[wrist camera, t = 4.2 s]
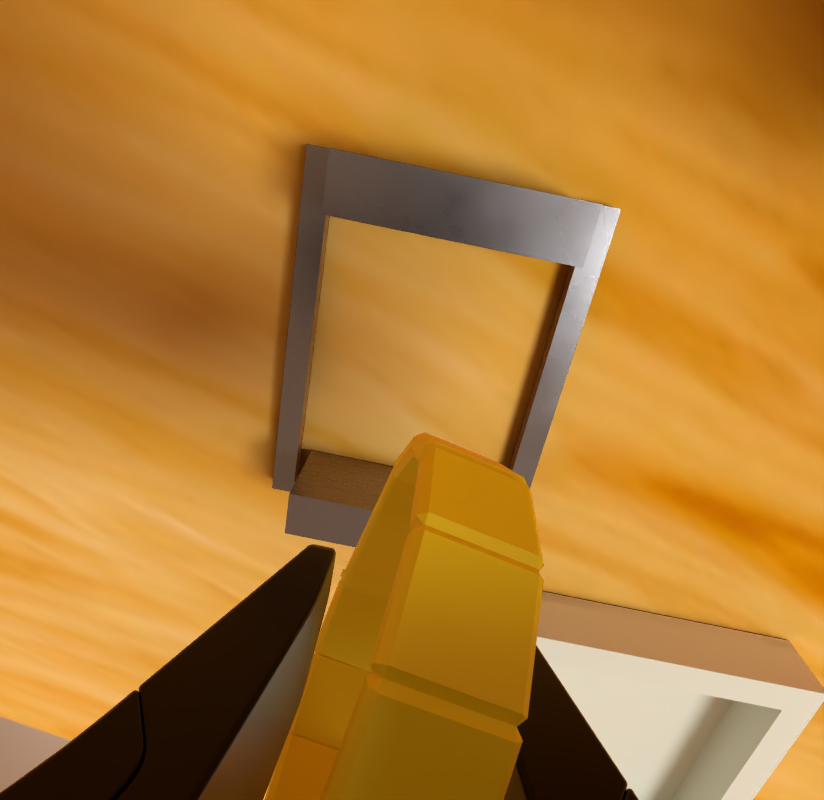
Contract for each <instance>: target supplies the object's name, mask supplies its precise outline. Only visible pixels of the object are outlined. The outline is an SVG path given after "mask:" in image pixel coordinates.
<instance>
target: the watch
mask: <svg viewBox="0 0 824 800" xmlns="http://www.w3.org/2000/svg"><path fill="white" fill-rule="evenodd" d="M543 566H544V565H543V559H542V554H541V548H540V542H539V536H538V530H537V524H536V518H535V513H534V507H533V501H532V495H531V491H530V489H529V486H528V485H527V483H526V481H525V478H524V477H522V476H520V475H519V474H517V473H515V472H514V471H512V470H510V469H509V468H507V467H505V466H504V465H502V464H500V463H498V462H495V461H493V460H491V459H488V458H486V457H483V456H481V455H478V454H476V453H473V452H471V451H469V450H466V449H464V448H461V447H459V446H456V445H454V444H452V443H449V442H447V441H444V440H442V439H439V438H437V437H434V436H432V435H430V434H427V433H425V432H424V433H421V434H419V435H417V436H416V437H414V438H413V439H412V440H411V442H410V443H409V444H408V446H407V447H406V448H405V449H404V451H403V452H402V453H401V455H400V456H399V457H398V459H397V460H396V461H395V464H394V467H393V469H392V471H391V473H390V475H389V478H388V480H387V482H386V484H385V486H384V488H383V490H382V492H381V495H380V497H379V499H378V501H377V503H376V505H375V507H374V510H373V512H372V514H371V516H370V518H369V520H368V522H367V524H366V527H365V529H364V531H363V533H362V535H361V537H360V539H359V542H358V544H357V546H356V548H355V550H354V552H353V554H352V556H351V559H350V561H349V563H348V565H347V567H346V569H345V570H344V569H343V571H342V574H341V577H342V578H341V580H340V581H339V583H338V586H337V588H336V591H335V594H334V596H333V599H332V601H331V604H330V607H329V609H328V612H327V614H326V617H325V620H324V622H323V625H322V628H321V630H320V633H319V636H318V639H317V643H316V647H315V653H314V655H313V659H312V662H311V666H310V670H309V674H308V678H307V682H306V685H305V688H304V692H303V695H302V698H301V701H300V704H299V707H298V710H297V712H296V715H295V718H294V720H293V723H292V725H291V728H290V731H289V733H288V736H287V738H286V741H285V744H284V746H283V749H282V751H281V754H280V756H279V759H278V762H277V764H276V767H275V769H274V772H273V775H272V777H271V780H270V783H269V787H268V790H267V794H266V797H265V800H504V797H505V794H506V791H507V788H508V785H509V782H510V779H511V776H512V772H513V769H514V766H515V763H516V760H517V757H518V754H519V751H520V748H521V745H522V742H523V740H522V738H521V735H520V733H519V731H518V728H517V726H518V725H520V724H521V723H522V722H524V721H525V720H526V719H527V718H528V711H529V702H530V693H531V685H532V676H533V668H534V659H535V650H536V642H537V633H538V625H539V616H540V608H541V599H542V590H543V582H544V580H543V579H542V577H541V575H540V574H539V571H540V570H541V568H542V567H543Z"/></svg>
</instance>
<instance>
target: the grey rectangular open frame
mask: <svg viewBox="0 0 824 800" xmlns="http://www.w3.org/2000/svg"><path fill="white" fill-rule="evenodd" d="M620 211H621V209H618V208H613V207H608V206H603V204H598V203H593V202H588V201H584V200H579V199H574V198H569V197H564V196H560V195H555V194H550V193H545V192H540V191H535V190H531V189H526V188H521V187H516V186H511V185H507V184H502V183H497V182H492V181H487V180H482V179H478V178H473V177H468V176H463V175H458V174H454V173H449V172H444V171H439V170H434V169H429V168H425V167H420V166H415V165H410V164H405V163H400V162H396V161H391V160H386V159H381V158H376V157H372V156H367V155H362V154H357V153H352V152H347V151H343V150H338V149H333V148H330V149H329V148H324V147H319V146H314V145H309V144H307V146H306V156H305V166H304V176H303V186H302V196H301V206H300V216H299V226H298V236H297V246H296V256H295V266H294V276H293V286H292V295H291V305H290V315H289V325H288V335H287V345H286V355H285V365H284V375H283V385H282V395H281V405H280V415H279V425H278V435H277V445H276V455H275V465H274V475H273V485H272V488H275V489H280V490H285V491H290V494H289V502H288V511H287V519H286V528H285V533H287V534H292V535H297V536H302V537H307V538H312V539H317V540H322V541H327V542H332V543H337V544H342V545H347V546H352V547H356V546H357V544H358V542H359V539H360V537H361V535H362V533H363V531H364V529H365V527H366V524H367V522H368V520H369V518H370V516H371V514H372V512H373V510H374V507H375V505H376V503H377V501H378V499H379V497H380V495H381V492H382V490H383V488H384V486H385V484H386V482H387V480H388V478H389V475H390V473H391V471H392V469H393V467H391V466H386V465H381V464H376V463H371V462H367V461H362V460H357V459H352V458H347V457H342V456H337V455H332V454H327V453H322V452H317V451H311V453H310V455H309V457H308V459H307V461H306V463H305V465H304V467H303V468H302V470H301V472H300V474H299V476H298V472H299V464H300V456H301V448H302V440H303V431H304V423H305V415H306V407H307V398H308V390H309V382H310V374H311V366H312V357H313V349H314V341H315V333H316V324H317V316H318V308H319V300H320V292H321V283H322V275H323V267H324V259H325V251H326V242H327V234H328V226H329V218H330V216H333V217H338V218H343V219H348V220H352V221H357V222H362V223H367V224H372V225H377V226H382V227H386V228H391V229H396V230H401V231H406V232H411V233H415V234H420V235H425V236H430V237H435V238H440V239H445V240H449V241H454V242H459V243H464V244H469V245H474V246H479V247H483V248H488V249H493V250H498V251H503V252H508V253H512V254H517V255H522V256H527V257H532V258H537V259H542V260H546V261H551V262H556V263H561V264H566V265H571V266H570V269H569V272H568V276H567V279H566V282H565V285H564V289H563V292H562V295H561V299H560V302H559V305H558V309H557V312H556V315H555V318H554V322H553V325H552V328H551V332H550V335H549V338H548V341H547V345H546V348H545V351H544V355H543V358H542V361H541V364H540V368H539V371H538V374H537V378H536V381H535V384H534V388H533V391H532V394H531V397H530V401H529V404H528V407H527V411H526V414H525V417H524V420H523V424H522V427H521V430H520V434H519V437H518V440H517V444H516V447H515V450H514V453H513V457H512V460H511V463H510V467H509V469H510V470H512V471H514V472H515V473H517V474H519V475H520V476H522V477H524V478H525V481H526V483H527V485H528V486H529V489H530V486H531V483H532V480H533V477H534V474H535V471H536V468H537V465H538V462H539V459H540V455H541V452H542V449H543V446H544V443H545V440H546V437H547V434H548V431H549V428H550V425H551V422H552V419H553V416H554V413H555V410H556V407H557V404H558V400H559V397H560V394H561V391H562V388H563V385H564V382H565V379H566V376H567V373H568V370H569V367H570V364H571V361H572V358H573V355H574V352H575V349H576V345H577V342H578V339H579V336H580V333H581V330H582V327H583V324H584V321H585V318H586V315H587V312H588V309H589V306H590V303H591V300H592V297H593V294H594V291H595V287H596V284H597V281H598V278H599V275H600V272H601V269H602V266H603V263H604V260H605V257H606V254H607V251H608V248H609V245H610V242H611V239H612V236H613V232H614V229H615V226H616V223H617V220H618V217H619V214H620Z"/></svg>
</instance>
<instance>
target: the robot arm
mask: <svg viewBox="0 0 824 800" xmlns="http://www.w3.org/2000/svg"><path fill="white" fill-rule="evenodd" d="M335 555H336V552H335V550H334V549H333V548H329V547H324V546H319V545H315V544H312V545H309V546H308V547H306V548H305V549H304V550H303V551H302V552H300V553H299V554H298V555H297V556H296V557H294V558H293V559H292V560H291V561H290V562H288V563H287V564H286V565H285V566H284V567H282V568H281V569H280V570H279V571H278V572H276V573H275V574H274V575H273V576H272V577H270V578H269V579H268V580H267V581H266V582H264V583H263V584H262V585H261V586H259V587H258V588H257V589H256V590H255V591H253V592H252V593H251V594H250V595H249V596H247V597H246V598H245V599H244V600H243V601H241V602H240V603H239V604H238V605H237V606H235V607H234V608H233V609H232V610H231V611H229V612H228V613H227V614H226V615H225V616H223V617H222V618H221V619H220V620H219V621H217V622H216V623H215V624H214V625H213V626H211V627H210V628H209V629H208V630H207V631H205V632H204V633H203V634H202V635H201V636H199V637H198V638H197V639H196V640H194V641H193V642H192V643H191V644H190V645H188V646H187V647H186V648H185V649H184V650H182V651H181V652H180V653H179V654H178V655H176V656H175V657H174V658H173V659H172V660H170V661H169V662H168V663H167V664H166V665H164V666H163V667H162V668H161V669H160V670H158V671H157V672H156V673H155V674H154V675H152V676H151V677H150V678H149V679H148V680H146V681H145V682H144V683H143V684H141V685H140V687H139V692H138V691H136V690H135V691H133V692H131V693H130V694H129V695H128V696H127V697H125V698H124V699H123V700H122V701H121V702H119V703H118V704H117V705H116V706H115V707H113V708H112V709H111V710H110V711H109V712H107V713H106V714H105V715H104V716H102V717H101V718H100V719H99V720H97V721H96V722H95V723H93V724H92V725H91V726H90V727H88V728H87V729H86V730H85V731H83V732H82V733H81V734H80V735H78V736H77V737H76V738H75V739H73V740H72V741H71V742H69V743H68V744H67V745H66V746H64V747H63V748H62V749H60V750H59V751H57V752H56V753H55V754H53V755H52V756H51V757H49V758H48V759H46V760H45V761H44V762H42V763H41V764H39V765H38V766H37V767H35V768H34V769H33V770H31V771H30V772H28V773H27V774H26V775H24V776H23V777H22V778H20V779H19V780H17V781H16V782H15V783H13V784H12V785H10V786H9V787H8V788H6V789H5V790H3V791H2V792H0V800H263V798H264V795H265V793H266V790H267V788H268V785H269V782H270V780H271V777H272V775H273V772H274V769H275V767H276V764H277V762H278V759H279V756H280V754H281V751H282V749H283V746H284V744H285V741H286V738H287V736H288V733H289V731H290V728H291V725H292V723H293V720H294V718H295V715H296V712H297V710H298V707H299V704H300V701H301V698H302V695H303V692H304V688H305V685H306V682H307V678H308V674H309V670H310V666H311V662H312V659H313V655H314V651H315V647H316V643H317V639H318V636H319V632H320V628H321V624H322V620H323V616H324V613H325V609H326V605H327V601H328V597H329V592H330V586H331V580H332V574H333V568H334V562H335ZM517 728H518V731H519V733H520V735H521V738H522V740H523V742H522V745H521V748H520V751H519V754H518V757H517V760H516V763H515V766H514V769H513V772H512V776H511V779H510V782H509V785H508V788H507V791H506V794H505V797H504V800H639V799H638V797H637V796H636V794H635V793H634V791H633V790H632V789H630V788H629V789H627V786H628V784H627V781H626V780H625V778H624V777H623V775H622V774H621V772H620V771H619V769H618V768H617V766H616V765H615V763H614V762H613V760H612V759H611V757H610V755H609V754H608V752H607V751H606V749H605V748H604V746H603V745H602V743H601V742H600V740H599V739H598V737H597V736H596V734H595V733H594V731H593V730H592V728H591V727H590V725H589V724H588V722H587V721H586V719H585V718H584V716H583V715H582V713H581V712H580V710H579V709H578V707H577V706H576V704H575V703H574V701H573V700H572V698H571V697H570V695H569V693H568V692H567V690H566V689H565V687H564V686H563V684H562V683H561V681H560V680H559V678H558V677H557V675H556V674H555V672H554V671H553V669H552V668H551V666H550V665H549V663H548V662H547V660H546V659H545V657H544V656H543V654H542V653H541V651H540V650H539V648H538V647H537V645H536V650H535V659H534V668H533V676H532V685H531V693H530V702H529V711H528V718H527V719H526V720H525V721H524V722H522V723H521V724H520V725H518V726H517ZM626 789H627V790H626Z"/></svg>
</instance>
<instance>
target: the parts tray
mask: <svg viewBox="0 0 824 800" xmlns="http://www.w3.org/2000/svg"><path fill="white" fill-rule="evenodd" d="M536 645H537V647H538V648H539V650H540V651H541V653H542V654H543V656H544V657H545V659H546V660H547V662H548V663H549V665H550V666H551V668H552V669H553V671H554V672H555V674H556V675H557V677H558V678H559V680H560V681H561V683H562V684H563V686H564V687H565V689H566V690H567V692H568V693H569V695H570V697H571V698H572V700H573V701H574V703H575V704H576V706H577V707H578V709H579V710H580V712H581V713H582V715H583V716H584V718H585V719H586V721H587V722H588V724H589V725H590V727H591V728H592V730H593V731H594V733H595V734H596V736H597V737H598V739H599V740H600V742H601V743H602V745H603V746H604V748H605V749H606V751H607V752H608V754H609V755H610V757H611V759H612V760H613V762H614V763H615V765H616V766H617V768H618V769H619V771H620V772H621V774H622V775H623V777H624V778H625V780H626V781H627V784H628V786H627V789H629V788H630V789H632V790H633V791H634V793H635V794H636V796H637V797H638V799H639V800H753V798H754V797H755V796H756V794H757V793H758V792H759V790H760V789H761V787H762V786H763V785H764V783H765V782H766V780H767V779H768V778H769V776H770V775H771V774H772V772H773V771H774V769H775V768H776V767H777V765H778V764H779V762H780V761H781V760H782V758H783V757H784V756H785V754H786V753H787V751H788V750H789V749H790V747H791V746H792V744H793V743H794V742H795V740H796V739H797V738H798V736H799V735H800V733H801V732H802V731H803V729H804V728H805V726H806V725H807V724H808V722H809V721H810V720H811V718H812V717H813V715H814V714H815V713H816V711H817V710H818V708H819V707H820V706H821V704H822V703H823V702H824V688H823V686H822V685H821V684H820V682H819V681H818V680H817V678H816V677H815V676H814V674H813V673H812V671H811V670H810V669H809V667H808V666H807V665H806V663H805V662H804V660H803V659H802V658H801V656H800V655H799V654H798V652H797V651H796V650H795V648H794V647H793V645H792V644H791V643H790V641H788V640H783V639H778V638H773V637H768V636H763V635H758V634H753V633H748V632H743V631H738V630H733V629H728V628H723V627H718V626H713V625H708V624H703V623H698V622H693V621H688V620H683V619H678V618H673V617H668V616H663V615H658V614H653V613H648V612H643V611H638V610H633V609H628V608H623V607H618V606H613V605H608V604H603V603H598V602H593V601H588V600H583V599H578V598H573V597H568V596H563V595H558V594H553V593H548V592H543V591H542V599H541V608H540V616H539V625H538V633H537V642H536ZM627 789H626V790H627Z"/></svg>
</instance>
